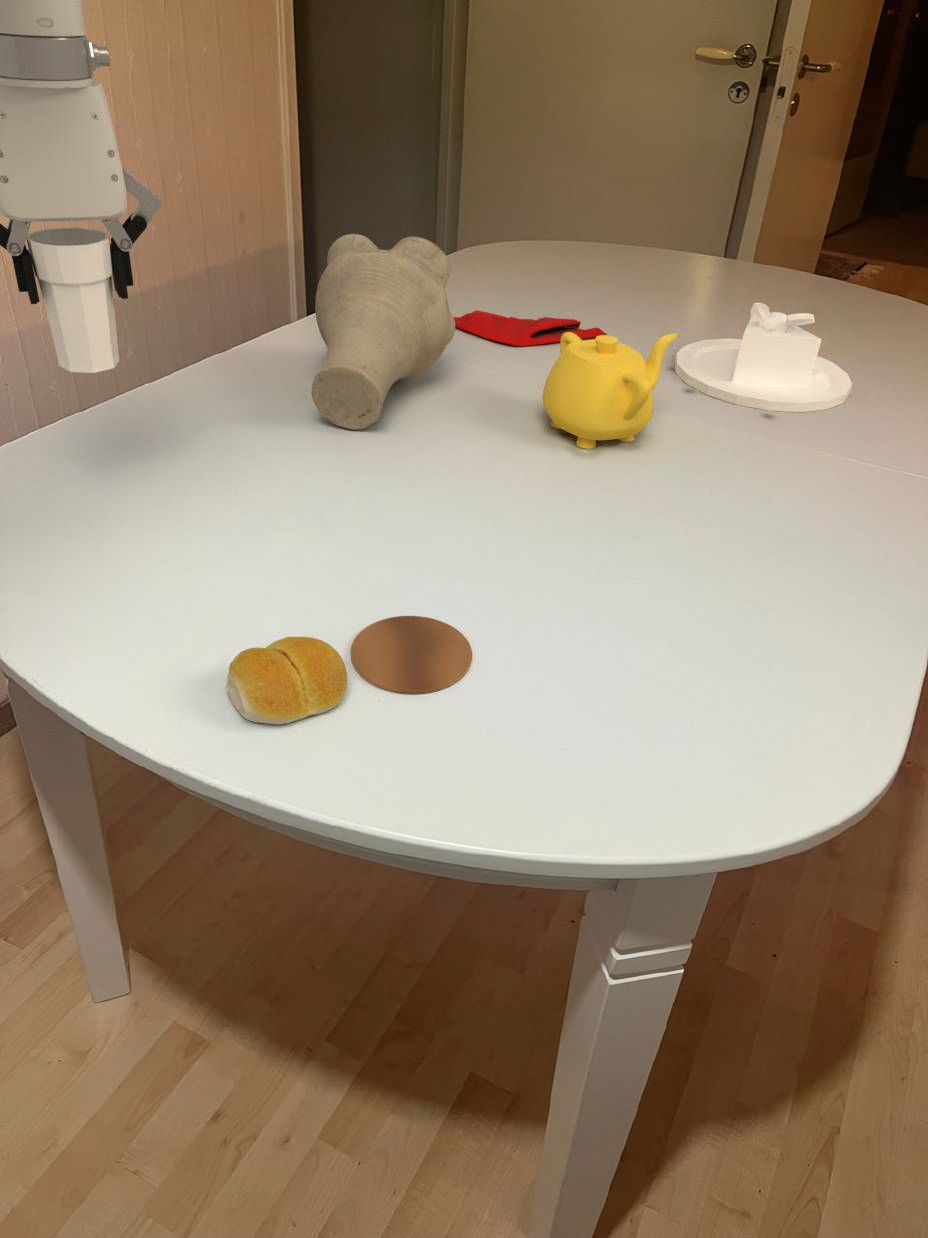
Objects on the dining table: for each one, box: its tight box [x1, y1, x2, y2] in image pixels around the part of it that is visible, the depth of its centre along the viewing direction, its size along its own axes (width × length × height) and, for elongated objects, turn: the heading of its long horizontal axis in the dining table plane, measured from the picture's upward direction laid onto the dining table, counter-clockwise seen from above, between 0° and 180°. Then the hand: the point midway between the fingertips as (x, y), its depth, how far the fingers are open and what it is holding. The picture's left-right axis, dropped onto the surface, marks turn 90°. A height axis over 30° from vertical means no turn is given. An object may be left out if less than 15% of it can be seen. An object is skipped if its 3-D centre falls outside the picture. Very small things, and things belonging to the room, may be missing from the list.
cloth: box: [453, 310, 609, 347], centre depth 143 cm, size 26×14×2 cm, turn 73°
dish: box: [674, 302, 853, 413], centre depth 131 cm, size 25×25×11 cm
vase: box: [311, 233, 456, 431], centre depth 113 cm, size 22×22×28 cm
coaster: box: [350, 615, 473, 695], centre depth 76 cm, size 10×10×1 cm
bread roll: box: [225, 636, 348, 725], centre depth 71 cm, size 8×9×4 cm
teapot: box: [541, 332, 679, 450], centre depth 112 cm, size 14×14×12 cm
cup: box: [26, 227, 120, 374], centre depth 82 cm, size 7×7×11 cm
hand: (78, 295), depth 81 cm, fingers closed on cup, 6 cm apart
